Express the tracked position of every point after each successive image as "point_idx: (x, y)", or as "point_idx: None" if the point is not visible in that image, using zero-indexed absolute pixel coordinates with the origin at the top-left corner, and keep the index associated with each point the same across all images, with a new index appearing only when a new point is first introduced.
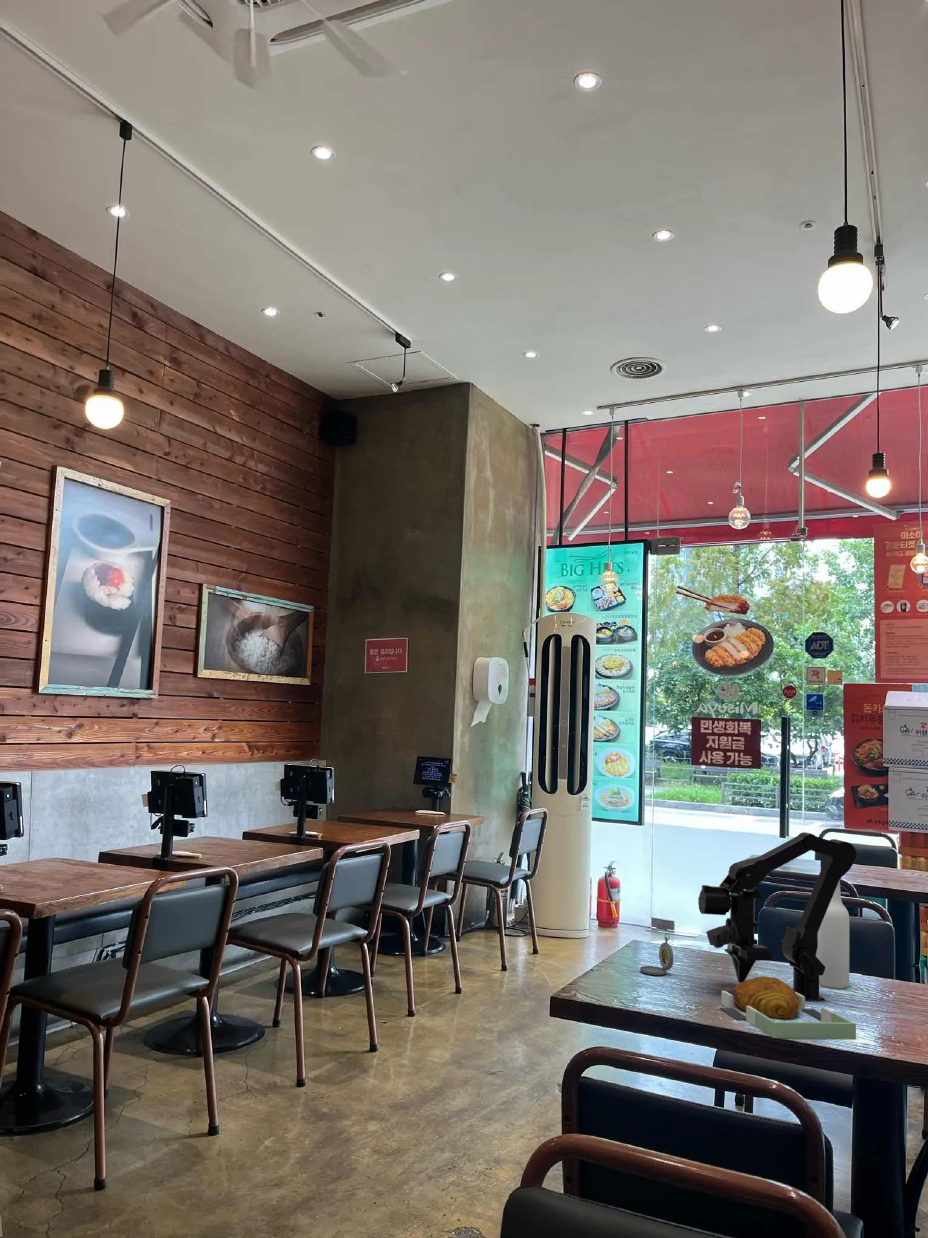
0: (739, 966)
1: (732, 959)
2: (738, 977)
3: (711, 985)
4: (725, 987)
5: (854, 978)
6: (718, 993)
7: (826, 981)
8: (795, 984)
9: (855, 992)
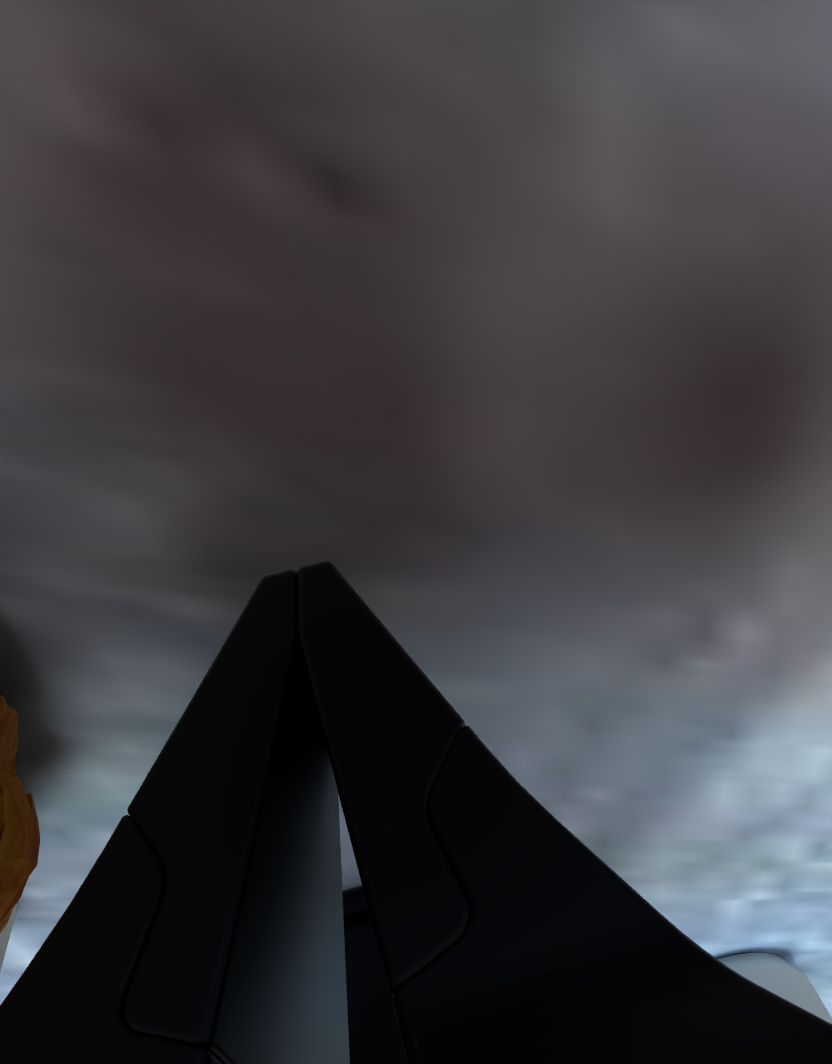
0: (44, 942)
1: (615, 919)
2: (277, 624)
3: (792, 80)
4: (655, 332)
5: None
6: (186, 39)
7: None
8: (360, 1025)
9: None
